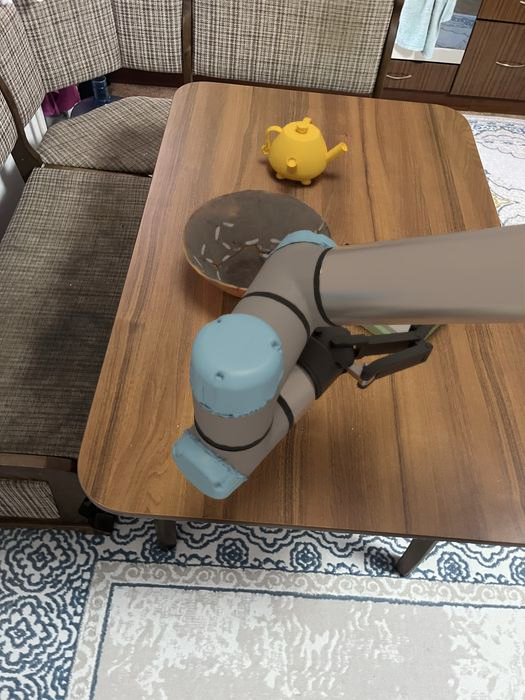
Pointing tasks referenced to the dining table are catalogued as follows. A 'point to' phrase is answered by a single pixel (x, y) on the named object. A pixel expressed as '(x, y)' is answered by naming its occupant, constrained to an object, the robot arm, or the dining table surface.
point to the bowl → (243, 234)
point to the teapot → (299, 151)
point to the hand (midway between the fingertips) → (390, 276)
